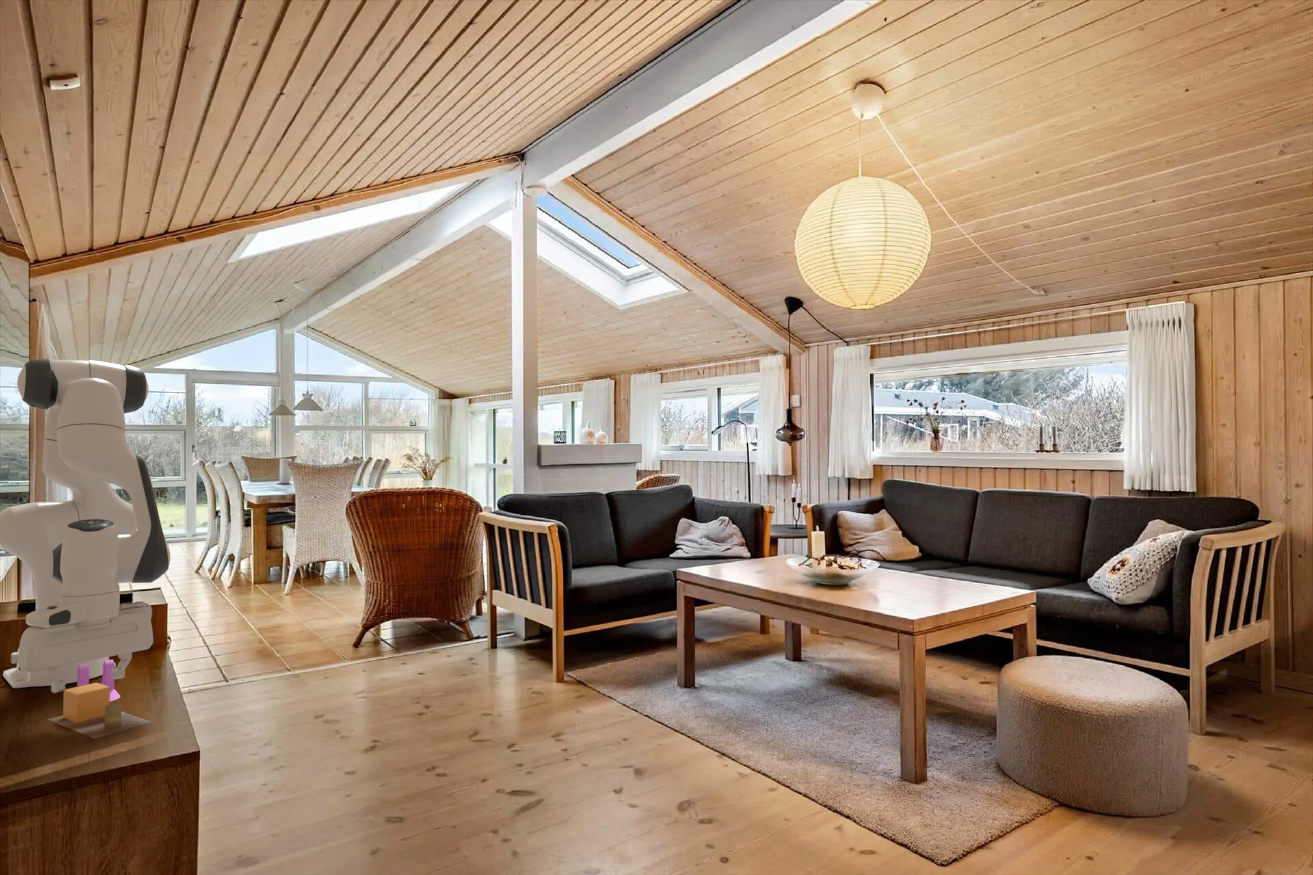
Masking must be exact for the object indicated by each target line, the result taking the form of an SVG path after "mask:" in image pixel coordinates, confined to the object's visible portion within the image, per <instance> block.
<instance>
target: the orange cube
mask: <svg viewBox="0 0 1313 875" xmlns="http://www.w3.org/2000/svg"><path fill="white" fill-rule="evenodd" d="M62 703H63V706H62V708H63V709H62V712H63V713H62V716H63V718H65V719H68V720H70V721H73V722H76V723H77V722H81V721H85V720H89V719H93V718H97V717H101V716H105V706H107V705H111V702H110V687H109V686H106V685H103V684H102V683H99V682H93V683H89V684H88V685H84V686H79V687H77V686H75V687H70V688H65V691H63V702H62Z"/></svg>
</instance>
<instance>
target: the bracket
mask: <svg viewBox="0 0 1313 875" xmlns="http://www.w3.org/2000/svg"><path fill="white" fill-rule="evenodd" d="M112 669H115V668H114V659H109V660H107V661H104V662H103V674H102V681H101V682H102V683H101V684H103V685H106V686H109V687H110V703H111V702H113V701H116V700H119V699H120V698H121V695H120V694H119V693H118V691H116V689H115V679H112ZM88 684H90V679H89V666H88V663H87V664H81V665H78V672H77V682H76V687H79V686H84V685H88Z"/></svg>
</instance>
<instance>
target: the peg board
mask: <svg viewBox="0 0 1313 875" xmlns="http://www.w3.org/2000/svg"><path fill="white" fill-rule="evenodd" d="M122 705H123V704H122V703H113V704H111V703H110V705H107V706H105V716H101V717H97V718H93V719H89V720H85V721H81V722H77V723H76V722H73V721H70V720H68V719H65V718H63V715H60V716H55V717H51V718H48V719H46V720H47V721H50V722H51V723H55V724H57V725H59V726H62V727H65V728H66V729H69V730H71V731H74V732H76V733H79V734H82V735H84V736H87V737H89V738H91V739H98V738H101V737H105V736H109V735H112V734H116V733H120V732H123V731H127V730H130V729H133V728H138V727H141V726H144V725H147V724H152V723H153V722H152V721H150V720H147V719H144V718H141V717H139V716H137V715H136V716H135V715H133V714H130V713H128V712H126V711H125V712H124V711H123V710H122V709H123V708H122V707H123V706H122Z"/></svg>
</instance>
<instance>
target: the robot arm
mask: <svg viewBox="0 0 1313 875" xmlns="http://www.w3.org/2000/svg"><path fill="white" fill-rule="evenodd" d="M16 383H17V389H18V392H19V395H20V397H21V400H22V401H23V402H24V403H25V404H27V405H28V406H30V407H33V408H37V409H39V410H45V411H46V410H48V413H47V417H46V422H45V428H44V438H43V450H42V451H43V452H42V463H41V465H42V466H41V469H42V472H43V475H44V476H45V477H46V478H47V479H48V480H50V481H51V482H53V483H56V484H58V485H61V486H62V487H66V488H68V489H70V490H71V493H72V500H62V501H61V500H60V501H38V502H29V503H23V504H17V505H13V506H8V507H6V508H5V509H3V510H2V511H1V512H0V547H1V548H2V550H4V551H5V552H8V553H9V554H11V555H13V556H15V557H16V558H18V559H19V561H21V562H22V563H24V565H25V566H26V567H27V569H28V570H29V572H30V573H31V574H30V575H31V576H32V579H33V584H34V592H35V610H34V611H31V612H30V613H27V614H26V615H25V624H26V625H27V626H29V627H27V628H26V629H25V630H23V633H22V634H21V637H20V641H19V647H18V649H17V652H16V651H14V652H12V653H11V654H10V663H11V664H16V667H12V668H9V669H7V670H3V673H2V676H3V678H4V680H6V681H7V682H8V684H9V685H10V686H11V687H12V688H13V689H20V688H21V689H22V688H29V687H45V686H46V687H47V686H48V687H49V686H51V688H50V689H51V693H54V694H56V693H60V692H64V691H65V690H66V685H67V684H72V683H77V672H78V665H81V664H87V663H88V666H89V680H90V679H94V678H97V677H100V676H103V662H104V661H107V660H110V657H115V656H118V659H120V660H119V663H118V664H117V665H116V662H114V669H112V679H114V680H120V679H124V678H125V677H126V668H127V667H128V666H129V664H130V662H131V660H132V659H133V653H134V652H140V651H144V650H149V649H150V648H151V646H152V645H153V643H154V634H153V632H154V631H153V625H152V621H151V620H152V618H153V608H152V606H151V605H150V604H149V603H147V602H145V601H141V600H140V601H135V602H128V603H127V602H126V603H120V601H121V600H120V597H121V596H120V595H121V593H120V589H121V588H120V584H127V583H131V584H151V583H153V582H155V581H156V580H158V579H160V578H161V577H162V576H163V575H164V574H165V573H166V572H168V570H169V567H170V563H171V551H170V550H171V549H170V547H169V544H168V541H167V540H166V537H165V534H164V531H163V527H162V524H161V522H162V521H161V520H160V515H159V514H160V513H159V510H158V505H157V500H156V496H155V492H154V488H153V484H152V480H151V479H152V478H151V476H150V473H149V469H148V466H147V464H146V462H145V459H144V458H143V457H142V456H140V455H139V454H135V452H133V451H132V448H130V446H129V444H128V442H127V437H126V419H125V414H129V413H132V412H133V413H134V412H137V411H138V410H139V409H141V408H143V407H144V404H145V402H146V400H147V398H148V395H149V384H148V380H147V377H146V374H145V373H144V371H143V370H142V369H140V368H139V367H135V366H132V365H129V364H123V365H121V364H117V363H111V362H106V361H98V360H93V359H92V360H89V359H88V360H80V359H50V358H49V357H47V358H46V357H45V358H44V357H42V358H34V359H30V360H28V361H27V362H26V363H24V364H23V368H22V369H21V370H20V372H19V374H18V376H17V382H16ZM111 484H113V485H115V486H117V487H119V488H121V489H123V490H124V491H126V493H127V494H128V496H129V498H130V501H131V504H130V503H129V502H128V501H125V500H124V499H123V498H121V497H120V496H119V495H118V494H117V493H116V491H115V490H114V489H113V487H112V485H111Z"/></svg>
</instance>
